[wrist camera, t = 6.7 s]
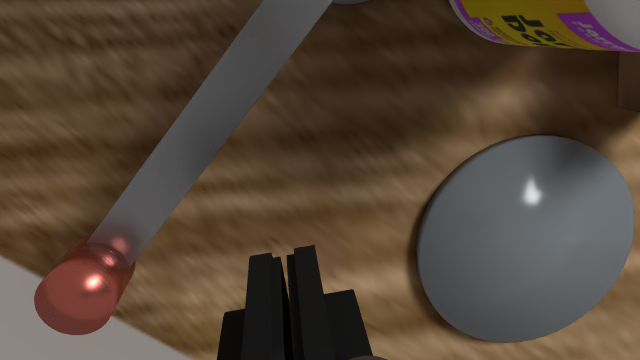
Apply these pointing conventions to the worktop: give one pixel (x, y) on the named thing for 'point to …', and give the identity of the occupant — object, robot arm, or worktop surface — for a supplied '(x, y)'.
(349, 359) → the robot arm
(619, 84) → the wooden plank block
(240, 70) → the lever
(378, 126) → the worktop surface
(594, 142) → the worktop surface
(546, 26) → the supplement bottle
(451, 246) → the coaster
